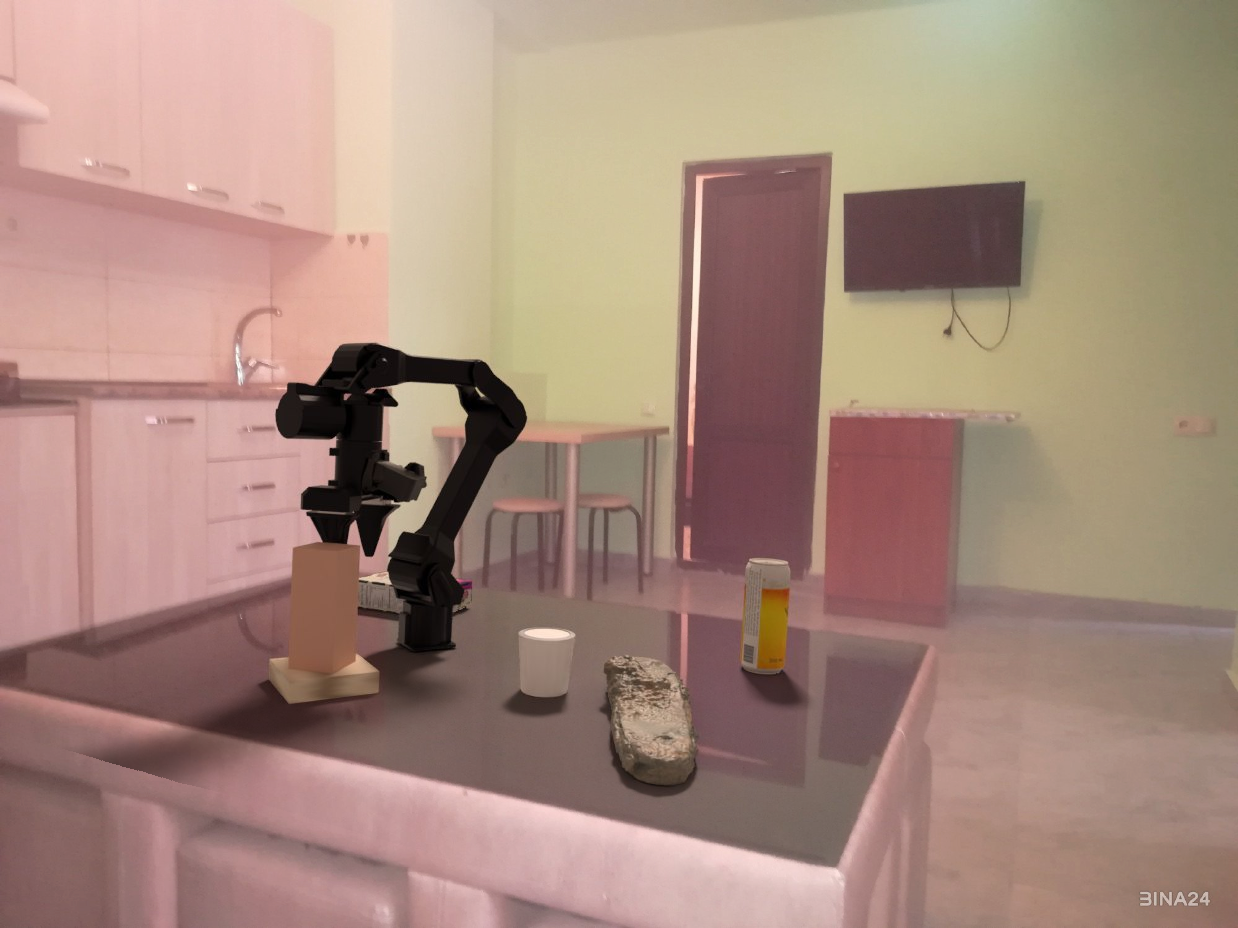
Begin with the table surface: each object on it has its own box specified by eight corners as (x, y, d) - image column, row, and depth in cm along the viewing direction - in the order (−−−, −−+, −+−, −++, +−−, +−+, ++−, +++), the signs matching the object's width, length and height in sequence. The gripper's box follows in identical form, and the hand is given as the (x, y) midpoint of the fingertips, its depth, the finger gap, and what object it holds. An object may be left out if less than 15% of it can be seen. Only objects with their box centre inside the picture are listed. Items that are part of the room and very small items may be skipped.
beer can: (792, 670, 122) (799, 562, 121) (768, 678, 117) (775, 565, 117) (756, 660, 126) (762, 556, 125) (730, 667, 122) (737, 559, 121)
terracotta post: (313, 656, 107) (317, 541, 107) (355, 661, 106) (360, 545, 106) (288, 668, 102) (292, 547, 101) (332, 673, 101) (337, 551, 100)
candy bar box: (472, 608, 151) (392, 596, 157) (473, 579, 150) (393, 568, 156) (434, 621, 140) (350, 607, 146) (436, 590, 140) (352, 577, 146)
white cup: (528, 701, 102) (531, 641, 102) (507, 684, 108) (510, 627, 108) (582, 695, 106) (585, 637, 105) (558, 679, 112) (561, 624, 111)
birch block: (352, 674, 111) (353, 650, 111) (378, 696, 103) (379, 671, 102) (268, 683, 105) (269, 658, 105) (288, 708, 97) (289, 681, 97)
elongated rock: (601, 801, 80) (710, 811, 80) (607, 744, 79) (717, 755, 80) (599, 671, 115) (675, 679, 115) (604, 632, 114) (680, 639, 115)
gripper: (390, 445, 103) (384, 578, 104) (444, 443, 122) (438, 556, 122) (300, 440, 105) (295, 570, 105) (367, 439, 123) (362, 550, 124)
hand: (354, 561), depth 114 cm, fingers open, 9 cm apart
